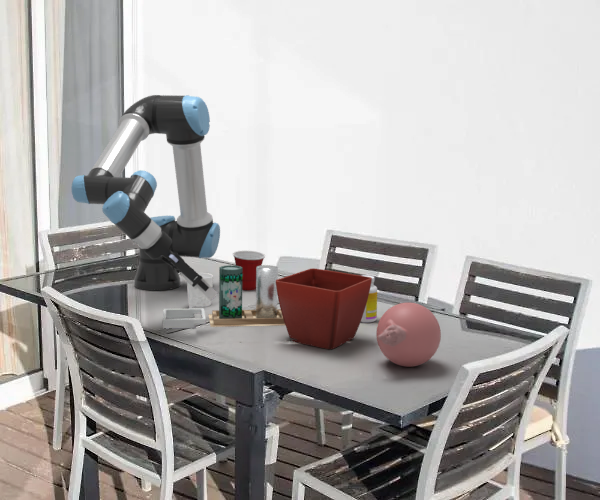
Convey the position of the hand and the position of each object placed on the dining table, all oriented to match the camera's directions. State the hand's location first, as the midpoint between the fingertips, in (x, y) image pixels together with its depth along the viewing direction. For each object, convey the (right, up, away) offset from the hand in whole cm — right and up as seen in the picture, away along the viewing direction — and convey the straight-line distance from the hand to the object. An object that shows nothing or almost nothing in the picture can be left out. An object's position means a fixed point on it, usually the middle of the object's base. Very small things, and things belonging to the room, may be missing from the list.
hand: (206, 291), depth 227 cm
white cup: (-4, -6, +22) cm, 23 cm away
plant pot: (+32, -13, -8) cm, 35 cm away
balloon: (+50, -17, -28) cm, 60 cm away
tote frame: (-7, -9, +5) cm, 13 cm away
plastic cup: (+9, -2, +48) cm, 48 cm away
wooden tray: (+11, -9, +6) cm, 16 cm away
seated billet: (+16, -8, +6) cm, 19 cm away
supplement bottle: (+45, -9, +13) cm, 47 cm away
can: (+6, -9, +5) cm, 12 cm away
